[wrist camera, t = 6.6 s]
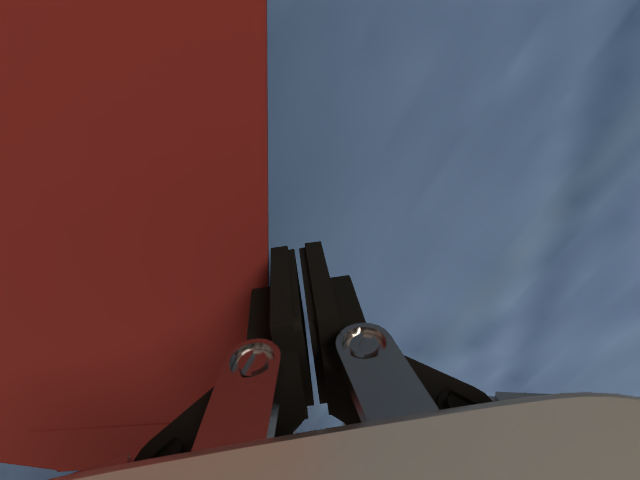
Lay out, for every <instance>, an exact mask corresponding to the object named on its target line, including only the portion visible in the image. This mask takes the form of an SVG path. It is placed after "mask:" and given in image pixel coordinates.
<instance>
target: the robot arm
mask: <svg viewBox="0 0 640 480" xmlns="http://www.w3.org/2000/svg"><path fill="white" fill-rule="evenodd" d="M299 252H300V259H301V267H302V275H303V283H304V290H305V298H306V306H307V313H308V321H309V328H310V336H311V343H312V350H313V357H314V364H315V372H316V379H317V386H318V393H319V400H320V404H323V403H327V404H328V410H329V415H333V416H334V417H336V418H337V419H339V420H341V421H342V422H343V425H344V426H338V427H332V428H326V429H320V430H314V431H309V432H303V433H297V434H296V429H297V428H298V426H299V425H300V424H301V423H302V422H303V421H304V419H308V412H307V406H311V405H314V400H313V391H312V382H311V373H310V365H309V356H308V347H307V338H306V330H305V321H304V313H303V306H302V300H301V293H300V286H299V279H298V272H297V265H296V258H295V252H294V249H292V250H288V247H287V246H282V247H275V248H271V280H270V286H269V287H262V288H255V289H252V291H251V300H250V310H249V320H248V330H247V340H246V341H244V342H242V343H240V344H238V345H237V346H235V347H233V348H232V349H231V350H230V351H229V352H228V353H227V355H226V357H225V359H224V361H223V363H222V366H221V369H220V372H219V375H218V377H217V380H216V383H215V386H214V387H213V388H211V389H210V390H209V391H208V392H207V393H205V394H204V395H203V396H202V397H201V398H200V399H198V400H197V401H196V402H195V403H194V404H192V405H191V406H190V407H189V408H188V409H186V410H185V411H184V412H183V413H182V414H181V415H179V416H178V417H177V418H176V419H175V420H173V421H172V422H171V423H170V424H169V425H167V426H166V427H165V428H164V429H163V430H162V431H160V432H159V433H158V434H157V435H156V436H154V437H153V438H152V439H151V440H150V441H149V442H148V443H147V444H146V445H145V446H144V447H143V448H142V449H141V450H140V452H139V453H138V455H136V456H133V457H130V455H129V453H126V454H124V455H121V456H118V457H115V458H113V459H110V460H107V461H105V462H102V463H99V464H97V465H94V466H91V467H89V468H86V469H83V470H80V471H78V472H75V473H72V474H70V475H66V476H61V477H57V478H53V479H48V480H640V397H634V396H627V395H621V394H608V393H592V392H582V393H559V394H536V393H513V392H496V393H495V397H493V396H487V395H486V394H485V393H484V392H482V391H480V390H479V389H477V388H475V387H473V386H471V385H469V384H466V383H464V382H462V381H460V380H458V379H455V378H453V377H451V376H449V375H447V374H444V373H442V372H440V371H438V370H435V369H433V368H431V367H429V366H427V365H424V364H422V363H420V362H418V361H416V360H413V359H411V358H409V357H407V356H404V355H403V353H402V352H401V350H400V349H399V347H398V346H397V344H396V343H395V341H394V340H393V338H392V337H391V335H390V334H389V333H388V332H387V331H386V330H385V329H384V328H382V327H380V326H378V325H375V324H372V323H366V322H365V319H364V316H363V313H362V310H361V307H360V304H359V301H358V298H357V296H356V293H355V290H354V287H353V284H352V281H351V278H350V276H349V275H347V276H340V277H333V278H330V276H329V272H328V268H327V264H326V260H325V256H324V253H323V249H322V245H321V241H319V242H312V243H305V248H299Z"/></svg>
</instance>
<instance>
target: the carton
mask: <svg viewBox="0 0 640 480" xmlns="http://www.w3.org/2000/svg"><path fill="white" fill-rule="evenodd" d="M262 287H269V250H268V98H267V0H0V462H1V463H8V464H16V465H23V466H31V467H38V468H45V469H53V470H57V471H58V472H61V471H75V470H83V469H86V468H89V467H91V466H94V465H97V464H99V463H102V462H105V461H107V460H110V459H113V458H115V457H118V456H121V455H124V454H126V453H129V455H130V457H133V456H136V455H138V453H139V452H140V450H141V449H142V448H143V447H144V446H145V445H146V444H147V443H148V442H149V441H150V440H151V439H152V438H153V437H154V436H156V435H157V434H158V433H159V432H160V431H162V430H163V429H164V428H165V427H166V426H167V425H169V424H170V423H171V422H172V421H173V420H175V419H176V418H177V417H178V416H179V415H181V414H182V413H183V412H184V411H185V410H186V409H188V408H189V407H190V406H191V405H192V404H194V403H195V402H196V401H197V400H198V399H200V398H201V397H202V396H203V395H204V394H205V393H207V392H208V391H209V390H210V389H211V388H213V387H214V386H215V383H216V380H217V377H218V375H219V372H220V369H221V366H222V363H223V361H224V359H225V357H226V355H227V353H228V352H229V351H230V350H231V349H232V348H233V347H235V346H237V345H238V344H240V343H242V342H244V341H246V340H247V330H248V320H249V310H250V300H251V291H252V289H255V288H262Z"/></svg>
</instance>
